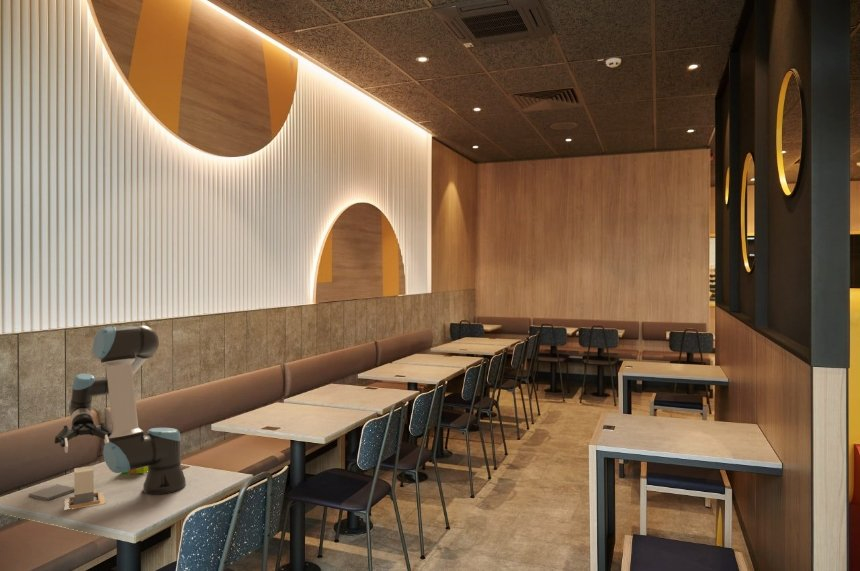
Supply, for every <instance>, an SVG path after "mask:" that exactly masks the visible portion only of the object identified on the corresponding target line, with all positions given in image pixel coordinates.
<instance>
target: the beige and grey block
mask: <svg viewBox="0 0 860 571" xmlns="http://www.w3.org/2000/svg"><path fill="white" fill-rule="evenodd" d="M73 474H74V475H73V477H74V479H73V480H74V482H73V483H74V488H75V491H74V496H75V499H74V505H75V504H81V503H86V502H92V501H95V496H94V493H95V492H94V491H95V486H94V485H95V484H94V481H95V480H94V477H95V476H94V465H89V466H82V467H75V468H73Z"/></svg>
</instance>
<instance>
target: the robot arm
mask: <svg viewBox="0 0 860 571" xmlns="http://www.w3.org/2000/svg"><path fill="white" fill-rule="evenodd" d="M159 346H160V338H159V335H158V334H157V333H156V331H155V330H154V329H153V328H151V327H150V326H147V325H143V324H136V325H117V326H115V325H113V326H105V327H101V328H100V329H99V330H97V332H96V333H95V336H94V338H93V343H92V351H93V355H94V357H95V358H96V359H97V360H100V364H101V365H102V366H103V367H105V370H106V376H101V377H95V376H94V375H93V374H92V373H91V374H90V373H79V374H76V375H75V376H74V378H73V381H72V387H71V388H72V389H71V399H70V402H69V405H68V412H69V416H70V417H69V418H70V420H71V421H70V422H71V426H68V425H64V426H63V428H62V430H60V432H58V434H57V435H55V436H54V444H59V445H60V447H61V448H64V453H65V454H66V453H67V454H68V452H69V442H68V441H70V440H72V439H74V438H76V437H78V436H84V435H85V436H86V435H87V436H88V435H89V436H93V437H94V436H95V437H98V438H100V439H103V441H104V445H103V451H102V453H103V459H104V462H105V464H106V466H107V468H108V470H110V471H111V472H112V473H114V474H120V473H121V472H128V471H130V470H134V469H137V468H141V467H145V466H148V472H146V477H145V481H144V483H143V485H142V486H143V488H142V489H143V493H145V494H147V495H163V494H164V495H165V494H170V493H175V492H177V491H180V490H183V489H184V488H185V487H186V486H187V483H186V482H187V481H186V480H187V479H186V477H185V474H184V472H183V468H182V466H181V461H182V460H181V458H182V457H181V441H182V439H181V433H180V430H178V429H177V428H174V427H172V428H171V427H154V428H153V427H152V428H149V429H148V430H147V432H146V433H147V434H145V433H144V430H143V429H141V428H140V427H139V421H138V413H137V412H138V410H137V402H136V401H137V400H136V393H135V382H134V375H135V374H136V373H137V371H138V370H139V369H140V368H141V366H143V364H144V363H145V362H146V361H147V360H148V359H151V358H152V357H153V356H154V355H155V354H156V353H157V350H159ZM104 395H108V397H109V409H110V416H111V428H112V430H111V429H110V428H108V427H107V426H105V425H104V423H100V424H99V425H96V424H95V423H94V417H93V414H92V410H91V409H92V401H93V398H94V397H97V396H99V397H100V396H104ZM121 474H122V473H121Z"/></svg>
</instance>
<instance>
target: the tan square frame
mask: <svg viewBox="0 0 860 571" xmlns="http://www.w3.org/2000/svg"><path fill="white" fill-rule="evenodd" d="M102 494H104V492H97V491H96V492H94V497H97V500H94V501H92V502H86V503H81V504H75V503H74V504H71V501H73V500H72V499H74V500H75V495H74V496H70V497H68V499H69V502H68V503H69V508H70V509H72V508H74V509H73V510H76V509H77V508H78V509H84V508H87V507H88V508H89V507H94V506H100V505H105V504H106V502H105V495H102ZM78 509H77V510H78Z"/></svg>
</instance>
